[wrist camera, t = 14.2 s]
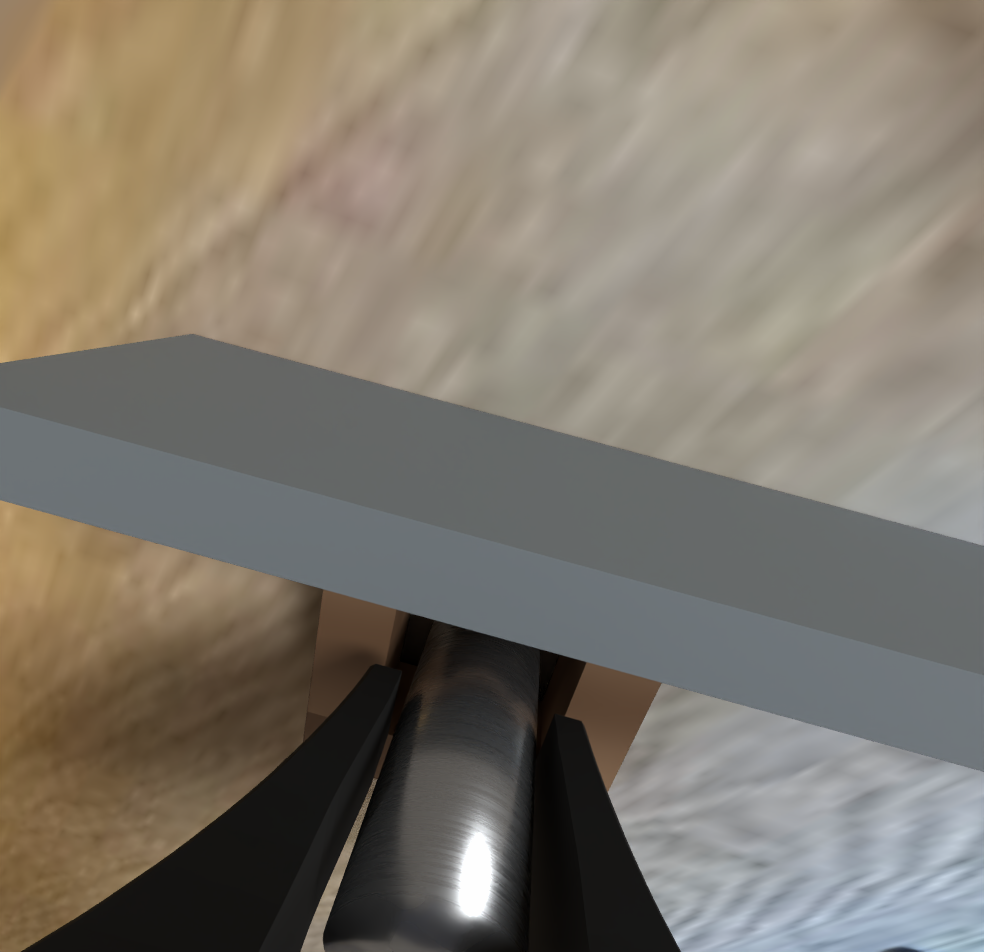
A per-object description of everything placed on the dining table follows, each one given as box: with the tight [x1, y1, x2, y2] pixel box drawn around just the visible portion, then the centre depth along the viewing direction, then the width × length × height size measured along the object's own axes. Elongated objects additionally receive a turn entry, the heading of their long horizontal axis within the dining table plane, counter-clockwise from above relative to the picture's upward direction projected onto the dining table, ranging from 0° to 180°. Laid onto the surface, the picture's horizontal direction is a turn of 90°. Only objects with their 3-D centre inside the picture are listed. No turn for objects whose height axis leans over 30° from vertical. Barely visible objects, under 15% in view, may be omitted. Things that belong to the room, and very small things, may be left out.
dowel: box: [323, 620, 540, 952], centre depth 11 cm, size 3×3×8 cm
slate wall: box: [0, 334, 984, 772], centre depth 10 cm, size 2×20×6 cm, turn 76°
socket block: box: [303, 589, 661, 792], centre depth 13 cm, size 8×8×2 cm
